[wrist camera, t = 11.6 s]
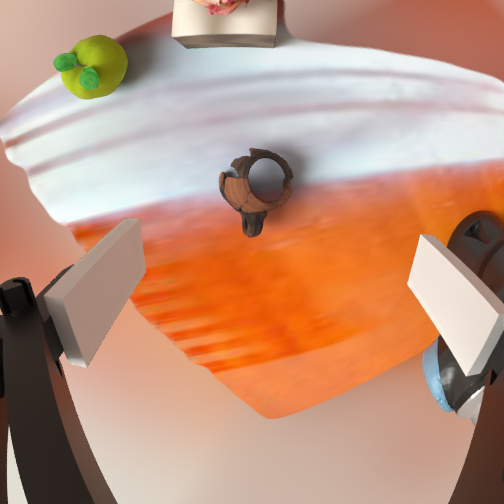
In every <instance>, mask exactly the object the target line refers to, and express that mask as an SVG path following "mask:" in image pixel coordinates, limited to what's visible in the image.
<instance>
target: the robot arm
mask: <svg viewBox="0 0 504 504" xmlns="http://www.w3.org/2000/svg"><path fill="white" fill-rule="evenodd" d="M145 273H146V268H145V260H144V252H143V243H142V234H141V223H140V218H125V219H124V220H122V221H121V222H120V223H119V224H118V225H117V226H116V227H114V228H113V229H112V230H111V231H110V232H109V233H108V234H107V235H106V236H104V237H103V238H102V239H101V240H100V241H99V242H98V243H97V244H96V245H95V246H94V247H92V248H91V249H90V250H89V251H88V252H87V253H86V254H85V255H84V256H83V257H82V258H81V259H80V260H79V261H78V262H77V263H76V264H73V265H71V266H69V267H68V268H66V269H64V270H63V271H61V273H59V274H58V275H57V276H56V279H53V280H52V281H51V282H50V284H48V285H47V286H46V287H45V288H44V289H43V290H42V291H41V292H40V293H39V294H38V296H37V297H36V298H35V296H34V293H33V290H32V287H31V283H30V281H29V279H27V278H25V277H17V278H13V279H10V280H7V281H6V282H4V283H2V284H1V285H0V309H1V311H2V314H3V315H0V504H8V497H7V442H8V427H10V433H11V438H12V444H13V449H14V454H15V458H16V463H17V467H18V471H19V475H20V479H21V482H22V486H23V489H24V493H25V496H26V499H27V502H28V504H118V503H117V502H116V500H115V498H114V496H113V494H112V492H111V490H110V488H109V487H108V485H107V483H106V481H105V479H104V477H103V474H102V472H101V470H100V468H99V466H98V464H97V462H96V460H95V457H94V455H93V453H92V450H91V448H90V446H89V443H88V441H87V438H86V436H85V433H84V431H83V428H82V426H81V423H80V420H79V418H78V415H77V412H76V409H75V406H74V403H73V400H72V397H71V395H70V391H69V388H68V385H67V382H66V378H65V375H64V371H63V367H62V364H61V362H60V360H59V357H60V356H61V354H62V353H63V351H64V353H65V355H66V357H67V360H68V362H69V364H74V365H77V366H82V367H86V368H87V367H88V365H89V364H90V362H91V360H92V359H93V357H94V355H95V353H96V351H97V350H98V348H99V346H100V345H101V343H102V341H103V340H104V338H105V336H106V335H107V333H108V331H109V329H110V328H111V326H112V325H113V323H114V321H115V320H116V318H117V316H118V315H119V313H120V312H121V310H122V308H123V307H124V305H125V304H126V302H127V300H128V299H129V297H130V296H131V294H132V293H133V291H134V289H135V288H136V286H137V285H138V283H139V282H140V280H141V279H142V277H143V276H144V274H145ZM407 285H408V286H409V288H410V289H411V290H412V292H413V293H414V295H415V296H416V298H417V299H418V300H419V302H420V303H421V305H422V306H423V308H424V309H425V311H426V312H427V314H428V315H429V317H430V318H431V320H432V321H433V323H434V324H435V326H436V328H437V329H438V331H439V332H440V335H439V336H438V337H437V339H436V340H435V341H434V342H433V343H432V344H431V345H430V346H429V347H428V348H427V349H426V350H425V352H424V354H423V357H422V368H423V373H424V377H425V380H426V382H427V385H428V387H429V389H430V391H431V393H432V395H433V397H434V398H436V401H437V403H438V405H439V406H440V407H441V409H442V410H444V411H445V412H451V411H454V410H455V412H456V414H457V416H458V417H461V418H468V419H470V420H472V422H473V424H474V426H475V431H474V434H473V438H472V441H471V444H470V448H469V451H468V454H467V457H466V460H465V463H464V466H463V469H462V471H461V474H460V477H459V479H458V482H457V484H456V487H455V489H454V492H453V494H452V496H451V499H450V501H449V503H448V504H504V222H503V221H502V220H501V219H500V218H499V217H497V216H495V215H494V214H492V213H490V212H487V211H478V212H475V213H472V214H471V215H469V216H467V217H466V218H465V219H464V220H463V221H462V222H461V223H460V224H459V225H458V226H457V227H456V229H455V230H454V232H453V234H452V236H451V238H450V240H449V243H448V246H447V247H446V246H444V245H443V244H442V243H441V242H440V241H439V240H438V239H437V238H435V237H434V236H433V235H423V234H420V238H419V242H418V246H417V250H416V254H415V258H414V262H413V265H412V269H411V272H410V276H409V279H408V283H407Z"/></svg>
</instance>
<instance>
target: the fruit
mask: <svg viewBox="0 0 504 504" xmlns="http://www.w3.org/2000/svg"><path fill="white" fill-rule="evenodd" d="M54 66H55V68H56V69H57V70H58V71H60V72H61V78H62V81H63V84H64V85H65V87H66V88H67V89H68V90H69V91H70V92H72V93H73V94H74V95H75V96H77V97H79V98H81V99H93V98H98V97H103V96H107V95H109V94H111V93H112V92H113V91H114V90H115V89H116V88H117V87H118V85H119V84H120V83H121V81H122V80H123V78H124V76H125V74H126V71H127V66H128V58H127V55H126V53H125V51H124V49H123V48H122V47H121V45H120V44H118V43H117V42H116V41H115V40H113V39H111V38H109V37H107V36H103V35H97V36H92V37H89V38H86V39H84V40H81V41H80V42H78V43H77V44H76V45H75V46H74V47H73V49H72V50H71V51H70V53H64V54H61V55H58V56H57V57H56V58H55V59H54Z"/></svg>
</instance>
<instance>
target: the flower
mask: <svg viewBox="0 0 504 504" xmlns="http://www.w3.org/2000/svg"><path fill="white" fill-rule="evenodd" d="M191 1H194V2H196V3H198V4H201V5H203V6H205V7H204V8H206V7H207V8H208V13H209V14H210V15H212V16H213V14H217V15H225V14H230V13H232V12H233V11H234V10H235V9H236V8H237V7H238V6H239V5H240V4H241V3H243V2H246V7H247V4H248V3H249V1H250V0H191ZM246 7H245V8H246Z"/></svg>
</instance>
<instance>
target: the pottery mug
mask: <svg viewBox="0 0 504 504" xmlns="http://www.w3.org/2000/svg"><path fill="white" fill-rule="evenodd" d="M249 151H250V153H251V156H250V157H249V156H242V157H240V158H237V159H234V161H233V162H232V163H231V167H234V168H235V170H236V171H237V173H238V175H239V177H240V178H234V177H227V178H226V179H225V184H224V176H225V173H224V172H222V173H221V174H220V177H219V188H220V192H221V194H222V196H223V197H224V199H225V200H226V201H227V202H228V203H229V204H230V205H231V206H232V207H233V208H234V209H235V210H236V211H238V212H240V214H241V217H242V228H243V233H244V234H245V235H246V236H248V237H256V236H258V235H259V234H260V233H261V231H262V228H263V221H264V218H265V217H266V216H267V212H266V210H267V209H269V211H272V210H273V209H275V208H276V207H278V206H280V205H282V204H283V203H285V202H286V201H287V199H288V198H289V196H290V194H291V192H292V190H291V189H289V188H290V180H291V179H292V178H293V174H292V171H291V169H290V167H289V165H288V163H287V162H286V161H285V160H284V159H283V158H282V157H280V156H279V155H277V154H275V153H272V152H271V151H268V150H261V149H255V148H250V149H249ZM261 158H269V159H272V160H274V161H276V162H277V163H278V164H279V165H280V166H281V168H282V169H283V171H284V174H285V178H284V180H283V187H284V192H283V194H282V195H281V197H280V198H279V199H277V200H276V201H273V202H264V201H261V200H260V199H258V198H257V197H256V196H255V195H254V194H253V193H252V191H251V189H250V186H249V182H248V174H249V170H250V168H251V166H252V165H253V164H254V163H255V162H256V161H257V160H258V159H261Z"/></svg>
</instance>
